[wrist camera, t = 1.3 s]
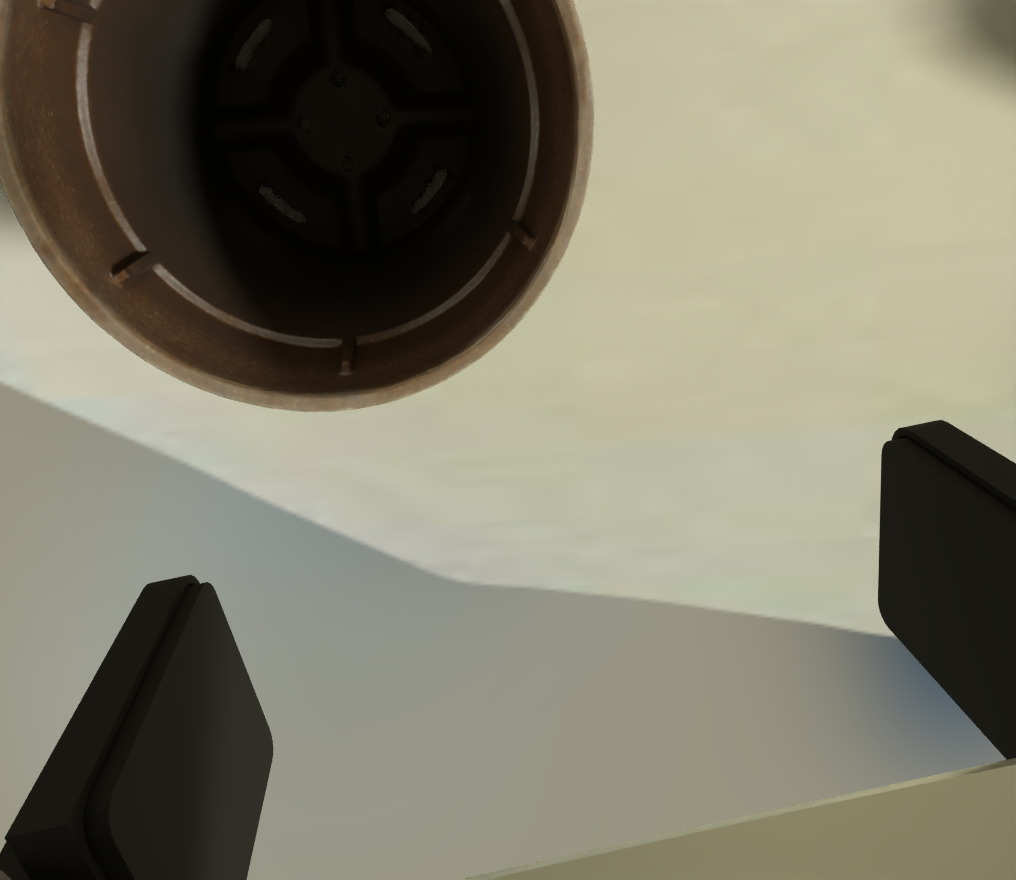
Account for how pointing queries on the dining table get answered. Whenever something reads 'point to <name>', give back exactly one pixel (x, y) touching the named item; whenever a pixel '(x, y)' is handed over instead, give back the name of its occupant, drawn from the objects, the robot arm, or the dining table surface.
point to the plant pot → (297, 182)
